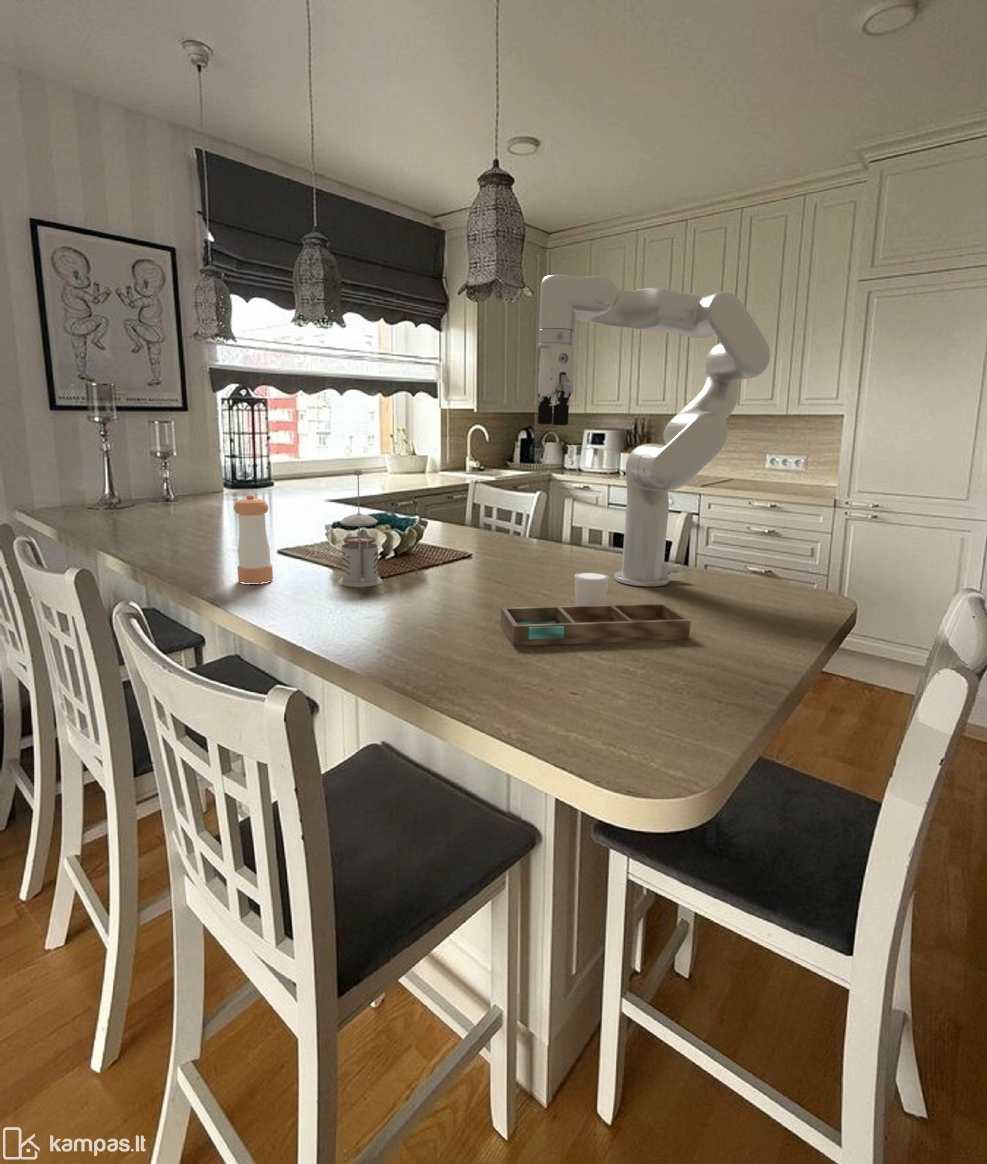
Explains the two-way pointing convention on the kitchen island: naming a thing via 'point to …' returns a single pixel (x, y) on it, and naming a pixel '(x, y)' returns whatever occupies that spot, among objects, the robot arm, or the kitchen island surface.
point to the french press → (359, 552)
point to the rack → (593, 624)
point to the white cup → (590, 588)
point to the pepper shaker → (253, 541)
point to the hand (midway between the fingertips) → (552, 424)
